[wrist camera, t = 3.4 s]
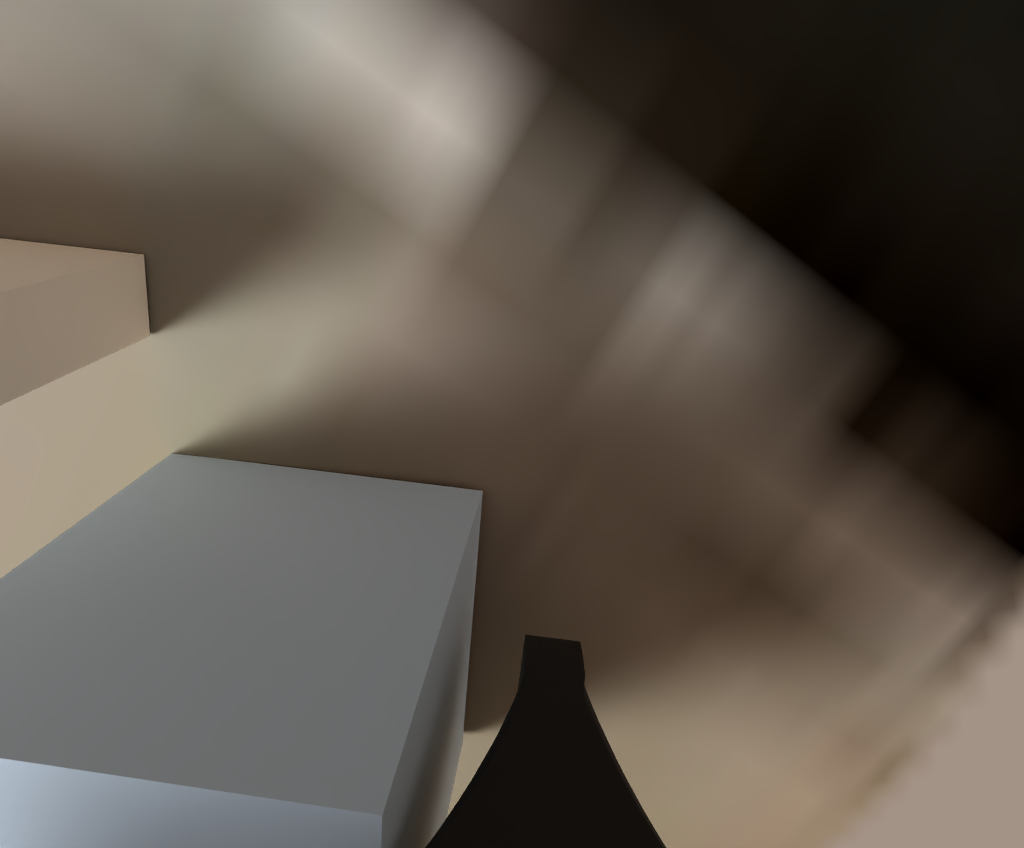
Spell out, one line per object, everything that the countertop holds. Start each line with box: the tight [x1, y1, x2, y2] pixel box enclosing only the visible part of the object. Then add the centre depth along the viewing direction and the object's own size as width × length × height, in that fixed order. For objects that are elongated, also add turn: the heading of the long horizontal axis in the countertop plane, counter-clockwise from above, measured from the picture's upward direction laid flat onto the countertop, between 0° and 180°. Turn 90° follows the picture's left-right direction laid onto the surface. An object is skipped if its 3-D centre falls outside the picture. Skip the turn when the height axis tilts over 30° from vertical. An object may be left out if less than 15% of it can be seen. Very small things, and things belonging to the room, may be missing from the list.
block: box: [0, 454, 483, 848], centre depth 10 cm, size 5×5×6 cm
